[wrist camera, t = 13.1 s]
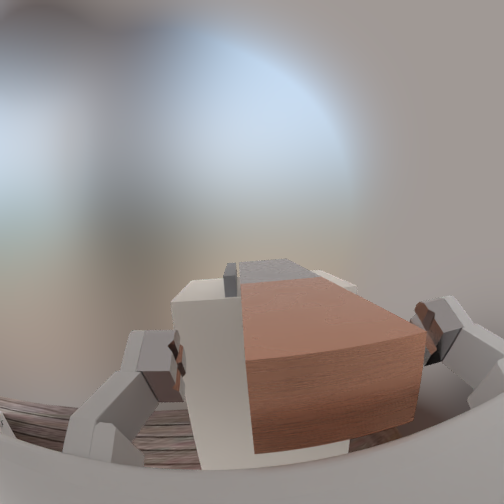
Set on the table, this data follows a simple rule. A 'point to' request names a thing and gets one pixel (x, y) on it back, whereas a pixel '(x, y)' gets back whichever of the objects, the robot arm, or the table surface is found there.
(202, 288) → the stand
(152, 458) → the table surface
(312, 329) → the knife
